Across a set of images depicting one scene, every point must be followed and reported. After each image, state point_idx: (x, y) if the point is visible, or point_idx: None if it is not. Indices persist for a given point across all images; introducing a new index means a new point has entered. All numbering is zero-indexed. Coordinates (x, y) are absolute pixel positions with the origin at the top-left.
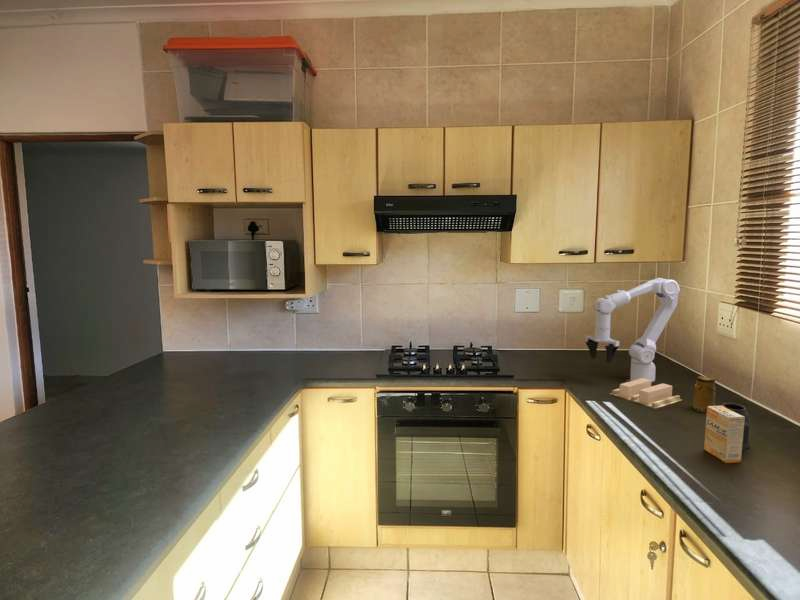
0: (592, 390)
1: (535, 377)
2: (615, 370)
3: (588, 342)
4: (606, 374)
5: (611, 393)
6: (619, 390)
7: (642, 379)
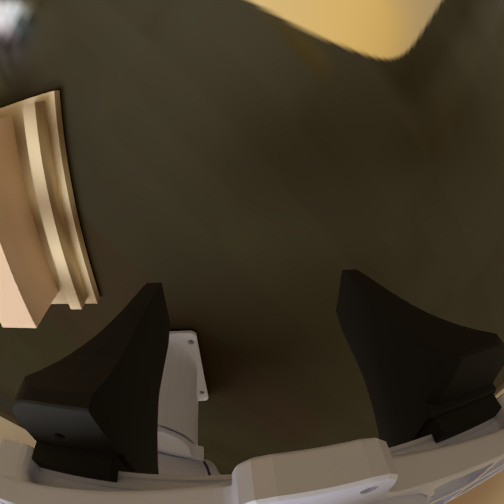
0: (167, 63)
1: (488, 27)
2: (330, 393)
3: (477, 364)
4: (324, 341)
5: (50, 101)
6: (30, 149)
7: (15, 307)
